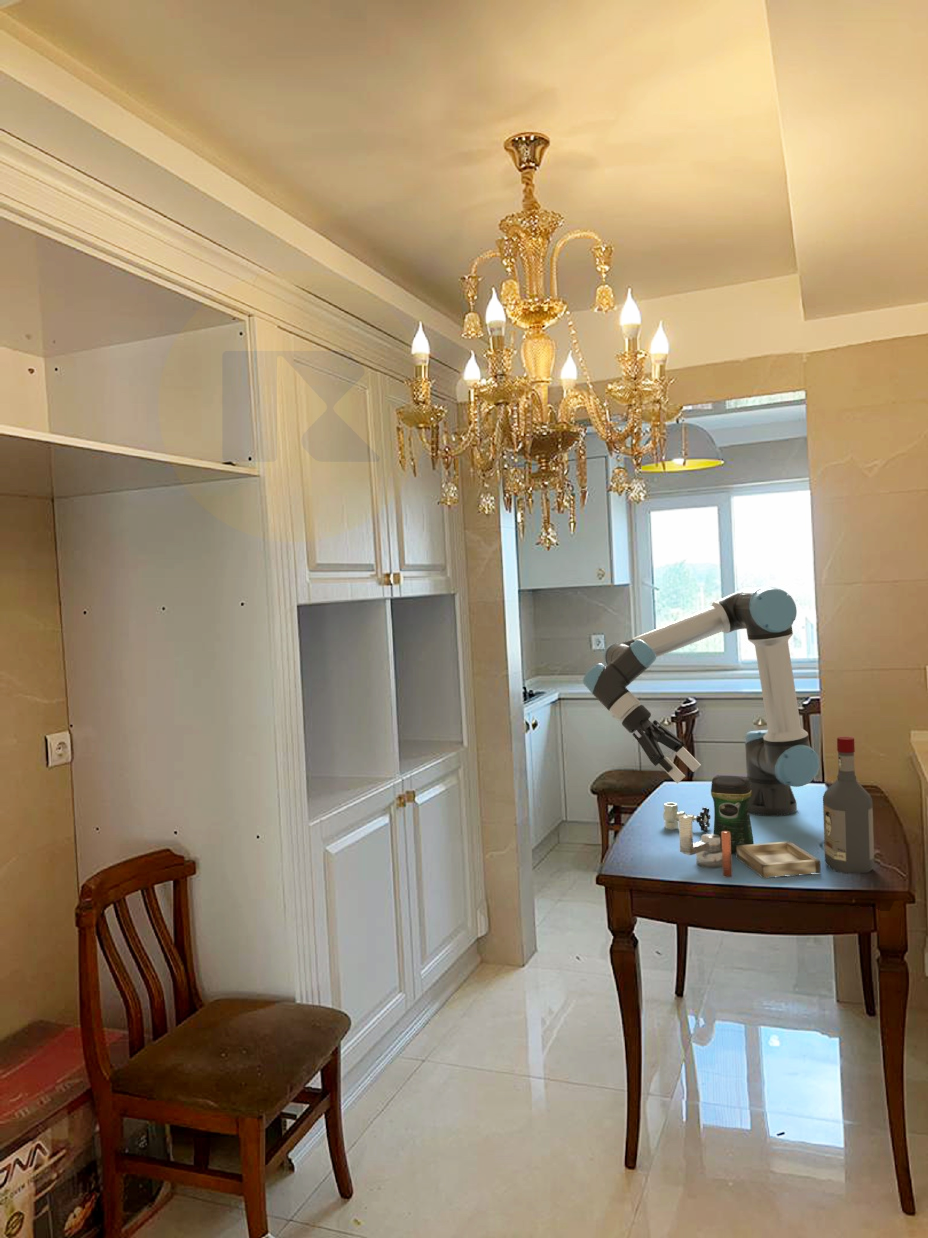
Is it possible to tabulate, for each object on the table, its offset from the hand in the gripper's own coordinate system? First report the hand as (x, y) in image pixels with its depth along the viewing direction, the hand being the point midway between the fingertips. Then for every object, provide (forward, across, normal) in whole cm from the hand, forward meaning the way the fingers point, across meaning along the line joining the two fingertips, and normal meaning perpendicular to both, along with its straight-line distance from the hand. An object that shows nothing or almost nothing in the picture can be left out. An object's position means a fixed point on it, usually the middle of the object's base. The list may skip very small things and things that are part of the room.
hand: (689, 774), depth 229 cm
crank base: (+20, +15, -6) cm, 26 cm away
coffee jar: (+20, 0, -6) cm, 21 cm away
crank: (+15, +16, -6) cm, 23 cm away
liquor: (+40, +3, +14) cm, 42 cm away
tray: (+29, +8, +3) cm, 30 cm away
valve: (+9, -14, -17) cm, 24 cm away
